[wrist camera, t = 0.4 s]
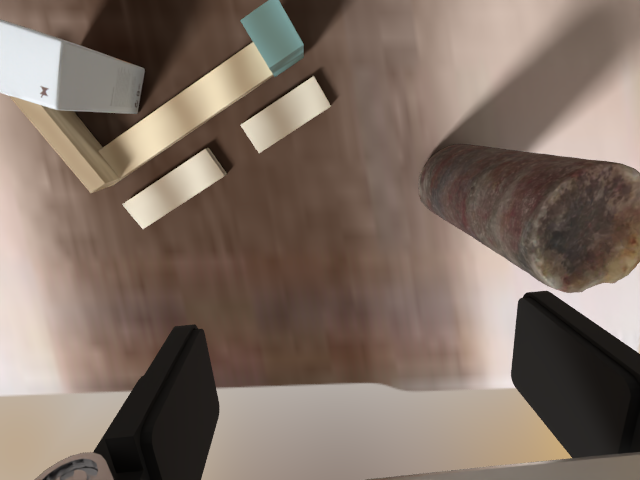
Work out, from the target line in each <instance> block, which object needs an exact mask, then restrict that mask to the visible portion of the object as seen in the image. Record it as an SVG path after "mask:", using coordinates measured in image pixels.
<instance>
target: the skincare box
mask: <svg viewBox="0 0 640 480" xmlns="http://www.w3.org/2000/svg"><path fill="white" fill-rule="evenodd" d="M144 73H145V69H144V68H143V67H140V66H137V65H134V64H131V63H128V62H126V61H123V60H120V59H117V58H114V57H112V56H109V55H106V54H103V53H101V52H98V51H95V50H92V49H89V48H86V47H83V46H81V45H78V44H75V43H72V42H69V41H66V40H63V39H60V38H57V37H54V36H51V35H48V34H45V33H42V32H39V31H36V30H32V29H29V28H26V27H23V26H20V25H17V24H13V23H10V22H7V21H4V20H1V19H0V93H3V94H5V95H8V96H12V97H16V98H19V99H22V100H26V101H29V102H32V103H35V104H39V105H42V106H45V107H48V108H52V109H55V110H64V111H87V112H108V113H128V114H137V113H138V108H139V102H140V96H141V90H142V85H143V79H144Z"/></svg>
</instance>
